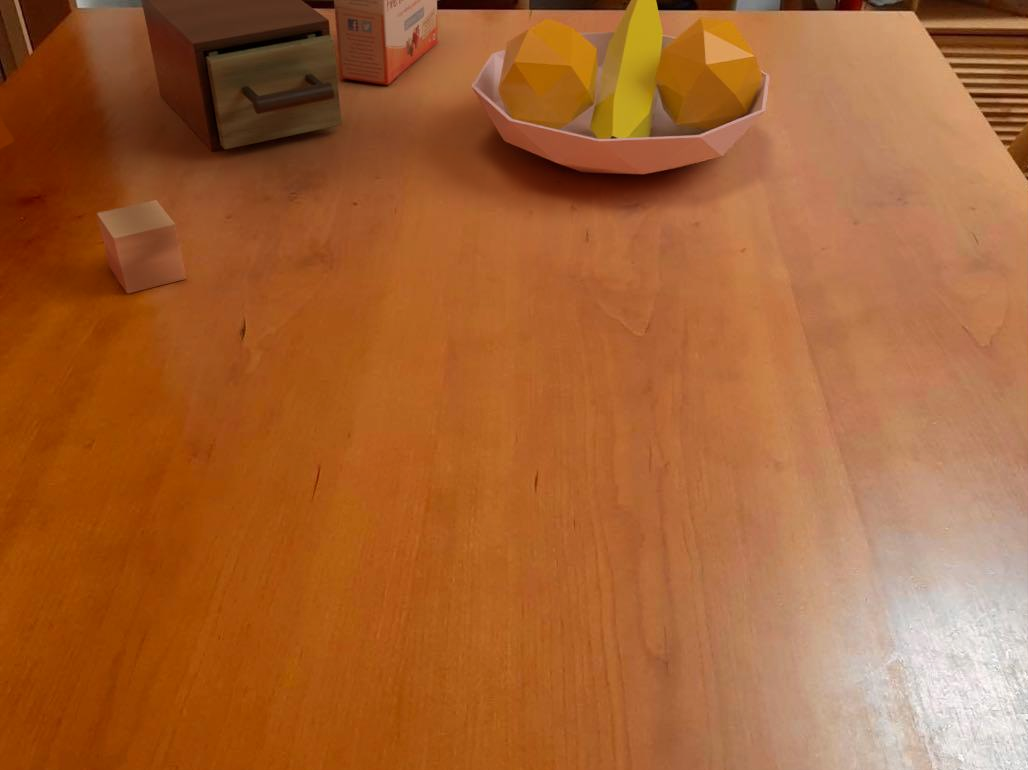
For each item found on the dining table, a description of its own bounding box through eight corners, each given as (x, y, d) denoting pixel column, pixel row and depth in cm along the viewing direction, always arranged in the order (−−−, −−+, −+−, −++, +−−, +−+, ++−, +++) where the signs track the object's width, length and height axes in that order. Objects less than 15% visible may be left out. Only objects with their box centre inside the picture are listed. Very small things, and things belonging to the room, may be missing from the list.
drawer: (361, 142, 106) (354, 54, 101) (242, 168, 102) (227, 78, 96) (284, 75, 118) (273, -7, 113) (174, 96, 114) (158, 12, 109)
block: (127, 294, 87) (113, 238, 84) (110, 268, 90) (96, 212, 87) (186, 279, 89) (175, 223, 86) (168, 254, 92) (156, 199, 89)
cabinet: (339, 125, 111) (329, 19, 105) (211, 152, 106) (192, 43, 100) (279, 72, 121) (266, -26, 115) (160, 95, 116) (140, -7, 110)
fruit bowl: (698, 234, 95) (714, 95, 87) (419, 163, 105) (412, 32, 97) (812, 117, 113) (834, -6, 105) (565, 66, 123) (569, -50, 115)
